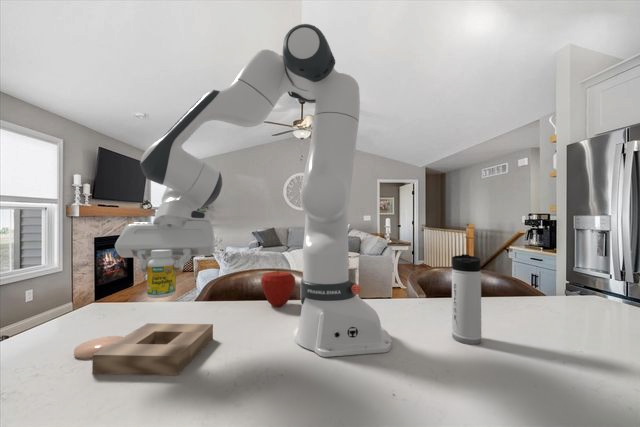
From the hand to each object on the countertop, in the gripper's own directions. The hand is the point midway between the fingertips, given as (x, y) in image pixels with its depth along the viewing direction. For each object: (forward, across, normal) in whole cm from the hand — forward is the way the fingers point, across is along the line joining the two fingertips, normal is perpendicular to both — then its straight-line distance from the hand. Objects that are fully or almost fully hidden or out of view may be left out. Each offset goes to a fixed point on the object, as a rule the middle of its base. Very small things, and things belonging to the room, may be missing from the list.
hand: (160, 269), depth 60 cm
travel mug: (+18, +69, +8) cm, 72 cm away
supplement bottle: (+4, 0, +4) cm, 6 cm away
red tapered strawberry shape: (-8, +27, +34) cm, 44 cm away
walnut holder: (+12, 0, +13) cm, 18 cm away
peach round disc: (+8, -14, +17) cm, 23 cm away
